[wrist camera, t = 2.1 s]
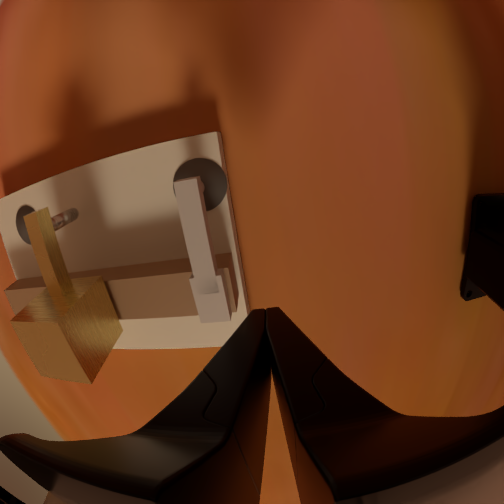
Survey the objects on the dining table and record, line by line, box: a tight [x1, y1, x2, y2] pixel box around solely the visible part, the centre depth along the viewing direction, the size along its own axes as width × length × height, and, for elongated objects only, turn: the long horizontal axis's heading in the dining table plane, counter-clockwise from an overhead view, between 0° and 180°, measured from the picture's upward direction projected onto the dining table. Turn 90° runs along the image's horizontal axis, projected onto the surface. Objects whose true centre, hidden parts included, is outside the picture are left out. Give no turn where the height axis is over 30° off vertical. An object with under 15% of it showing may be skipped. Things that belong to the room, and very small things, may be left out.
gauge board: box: [0, 132, 250, 349], centre depth 12 cm, size 14×10×3 cm
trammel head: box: [10, 207, 123, 384], centre depth 10 cm, size 3×6×5 cm, turn 8°
